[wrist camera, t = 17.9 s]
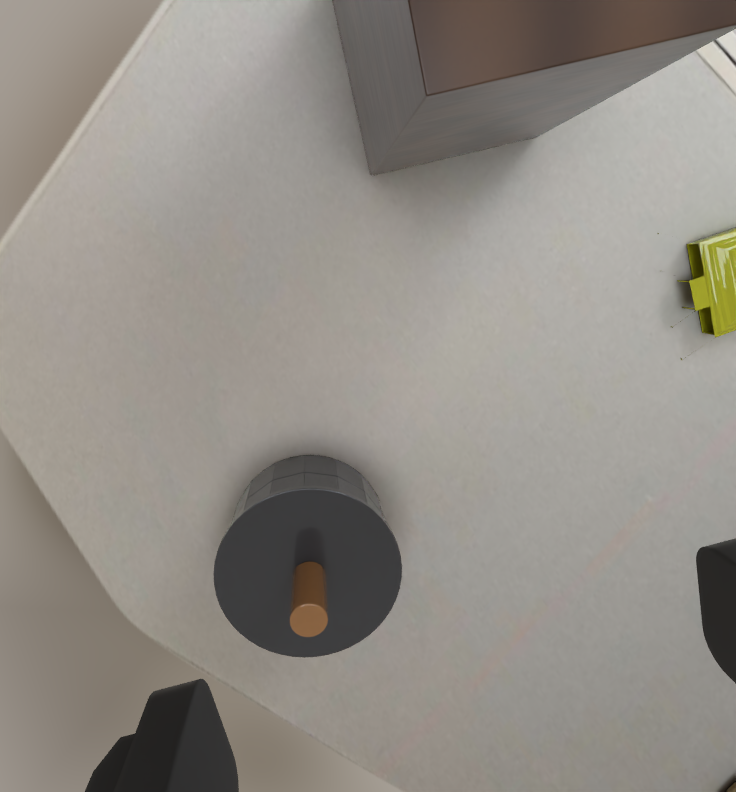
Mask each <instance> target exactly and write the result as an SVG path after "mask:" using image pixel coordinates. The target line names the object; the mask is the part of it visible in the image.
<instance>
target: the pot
mask: <svg viewBox="0 0 736 792" xmlns="http://www.w3.org/2000/svg"><path fill="white" fill-rule="evenodd" d="M299 486H322V487H329V488H334V489H338V490H341V491H344V492H347V493H350V494H352V495H354V496H356V497H358V498H360V499H361V500H363V501H364V502H366V503H367V504H369V505H370V506H371V507H372V508H374V509H375V510H376V511H377V512H378V513H379V514H380V515H381V516H382V518H383V519H384V517H383V513H382V510H381V506H380V503H379V499H378V496H377V494H376V493H375V491H374V490H373V488H372V487H371V485H370V484H369V482H368V481H367V480H366V479H365V478H364V477H363V476H362V475H361V474H360V473H359V472H358V471H356V470H355V469H354V468H352V467H351V466H349V465H348V464H345V463H343V462H341V461H339V460H336V459H333V458H330V457H325V456H318V455H303V456H296V457H291V458H288V459H284V460H281V461H279V462H277V463H275V464H273V465H271V466H269V467H268V468H266V469H265V470H263V471H262V472H261V473H260V474H259V475H257V476H256V477H255V478H254V479H253V480H252V481H251V483H250V484H249V486H248V487H247V488H246V490H245V492H244V493H243V495H242V497H241V499H240V501H239V502H238V504H237V507H236V510H235V513H234V517H233V520H232V523H233V521H234V520H235V519H236V518H237V517H238V516H239V515H240V514H241V513H242V512H243V511H244V510H245V509H246V508H248V507H249V506H250V505H252V504H253V503H254V502H256V501H258V500H259V499H261V498H263V497H265V496H267V495H269V494H272V493H274V492H277V491H280V490H284V489H287V488H292V487H299ZM232 523H231V524H232Z"/></svg>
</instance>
